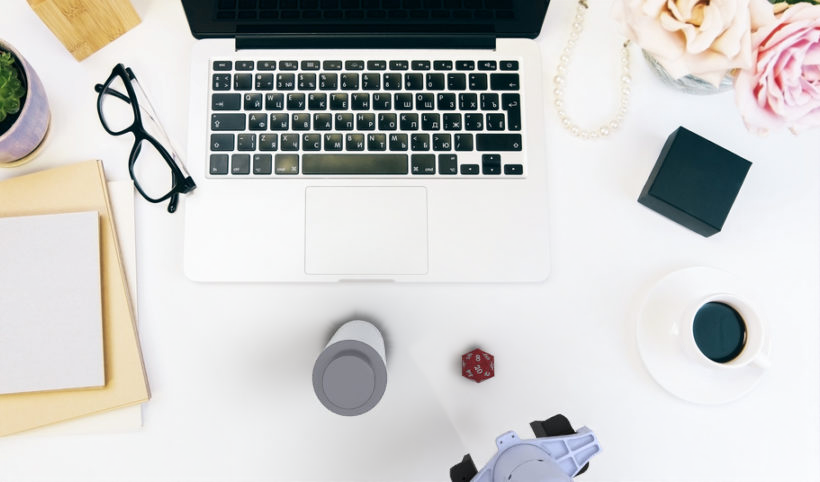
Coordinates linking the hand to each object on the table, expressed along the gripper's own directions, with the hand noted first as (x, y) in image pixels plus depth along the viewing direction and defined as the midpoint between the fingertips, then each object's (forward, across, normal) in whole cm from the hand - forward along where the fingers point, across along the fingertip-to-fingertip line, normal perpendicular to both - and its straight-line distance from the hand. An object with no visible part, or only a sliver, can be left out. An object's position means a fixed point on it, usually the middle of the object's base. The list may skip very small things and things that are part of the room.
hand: (503, 447), depth 61 cm
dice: (+10, -2, -7) cm, 12 cm away
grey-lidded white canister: (+9, +10, -15) cm, 20 cm away
